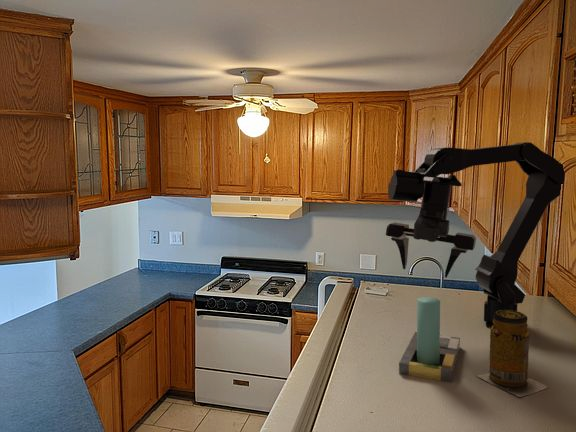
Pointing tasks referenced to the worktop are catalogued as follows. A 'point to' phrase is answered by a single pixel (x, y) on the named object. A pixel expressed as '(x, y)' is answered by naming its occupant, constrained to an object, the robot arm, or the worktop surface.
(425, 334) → the plug
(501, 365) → the condiment
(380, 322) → the worktop surface
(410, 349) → the socket plate
